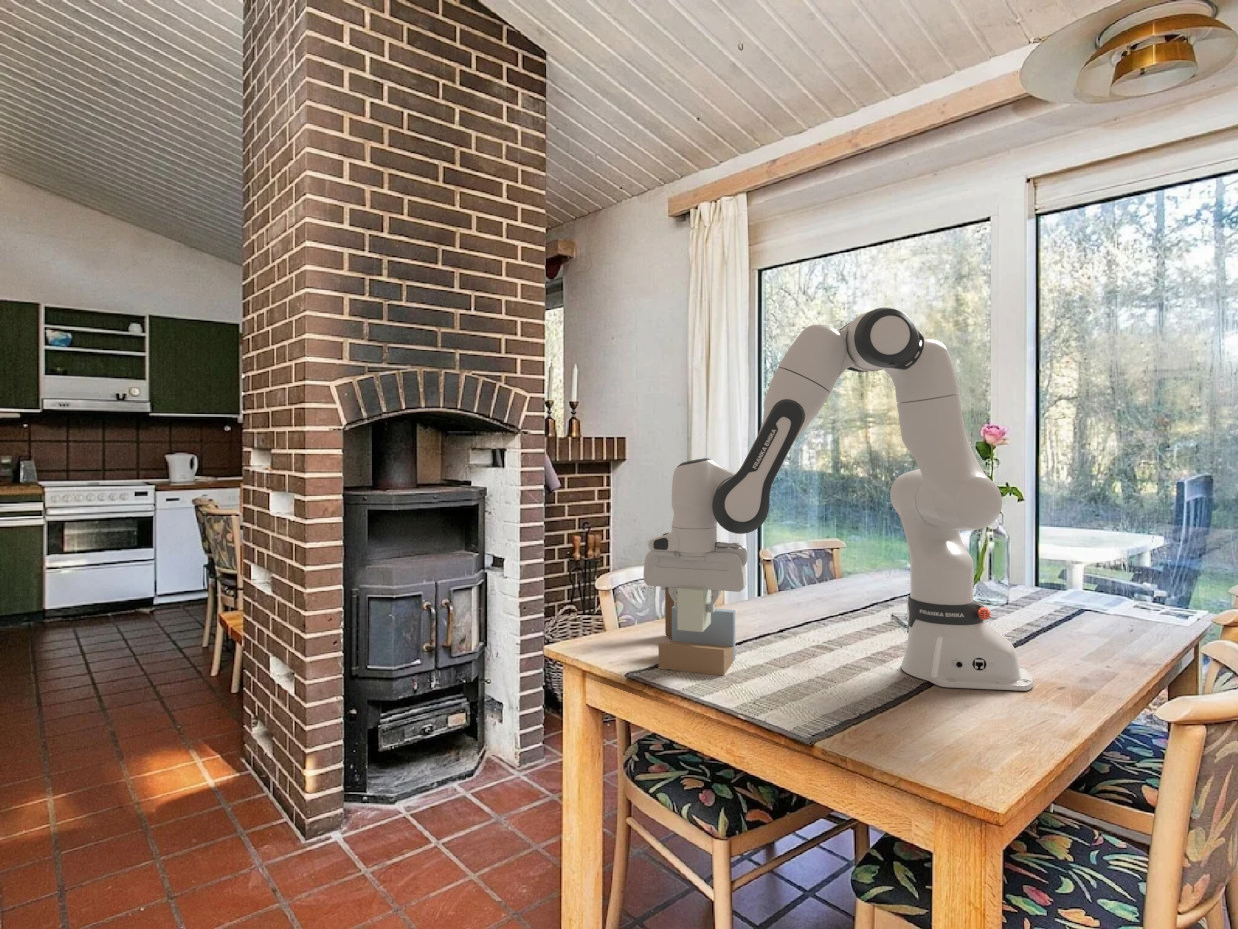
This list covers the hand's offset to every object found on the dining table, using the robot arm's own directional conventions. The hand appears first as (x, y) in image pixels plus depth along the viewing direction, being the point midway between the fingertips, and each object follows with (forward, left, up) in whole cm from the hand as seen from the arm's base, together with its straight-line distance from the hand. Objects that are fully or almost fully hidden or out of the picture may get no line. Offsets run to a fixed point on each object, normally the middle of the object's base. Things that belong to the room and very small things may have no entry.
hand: (694, 610), depth 142 cm
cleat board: (0, -3, -11) cm, 12 cm away
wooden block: (+7, -19, -12) cm, 23 cm away
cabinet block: (0, 0, -3) cm, 3 cm away
